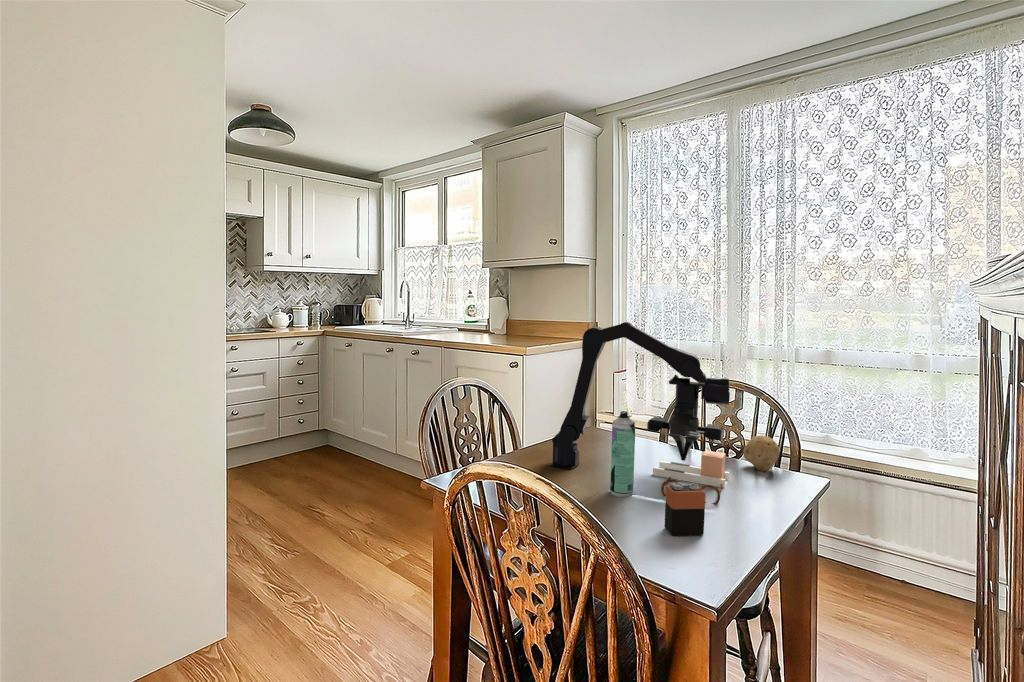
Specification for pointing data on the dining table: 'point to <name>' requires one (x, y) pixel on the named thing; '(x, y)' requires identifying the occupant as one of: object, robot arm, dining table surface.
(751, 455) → the natural sponge
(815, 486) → the dining table surface
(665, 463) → the chute
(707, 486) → the glasses
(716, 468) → the block
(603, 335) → the robot arm
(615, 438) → the spray can
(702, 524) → the battery
